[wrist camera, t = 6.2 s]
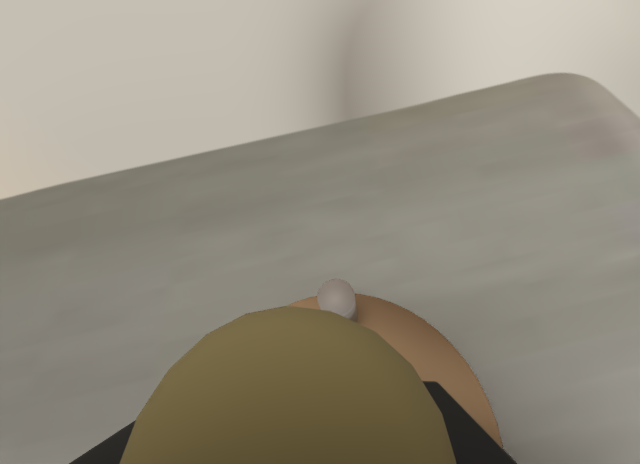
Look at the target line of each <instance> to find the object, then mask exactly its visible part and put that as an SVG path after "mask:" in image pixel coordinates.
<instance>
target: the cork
mask: <svg viewBox="0 0 640 464" xmlns="http://www.w3.org/2000/svg"><path fill="white" fill-rule="evenodd" d="M120 464H457V463H456V459H455V456H454V453H453V449H452V446H451V442H450V439H449V436H448V432H447V429H446V425H445V422H444V419H443V415H442V413H441V411H440V410H439V408H438V406H437V405H436V403H435V401H434V400H433V398H432V396H431V395H430V393H429V392H428V390H427V388H426V387H425V385H424V383H423V382H422V380H421V379H420V377H419V375H418V374H417V372H416V370H415V369H414V367H413V365H412V364H411V363H409V362H408V361H407V360H406V359H405V358H404V357H403V356H402V355H401V354H400V353H398V352H397V351H396V350H395V349H394V348H393V347H392V346H391V345H390V344H389V343H388V342H386V341H385V340H384V339H383V338H382V337H381V336H380V335H379V334H378V333H377V332H375V331H373V330H371V329H369V328H367V327H365V326H362V325H360V324H358V323H356V322H354V321H352V320H350V319H347V318H345V317H343V316H341V315H339V314H337V313H334V312H332V311H326V310H318V309H310V308H302V307H294V306H284V307H279V308H274V309H268V310H263V311H258V312H253V313H248V314H245V315H243V316H241V317H239V318H237V319H235V320H233V321H231V322H230V323H228V324H226V325H224V326H222V327H220V328H218V329H216V330H214V331H212V332H210V333H209V334H207V335H206V336H205V337H203V338H202V339H201V340H200V341H199V342H198V343H197V344H196V345H195V346H194V347H193V348H192V349H190V350H189V351H188V352H187V353H186V354H185V355H184V356H183V357H182V358H181V359H180V360H179V361H178V362H176V363H175V364H174V365H173V366H172V367H171V368H170V369H169V371H168V372H167V373H166V375H165V376H164V378H163V379H162V381H161V382H160V384H159V385H158V387H157V388H156V390H155V391H154V393H153V394H152V396H151V397H150V399H149V400H148V402H147V403H146V405H145V406H144V408H143V409H142V411H141V412H140V414H139V415H138V417H137V419H136V421H135V424H134V427H133V429H132V432H131V435H130V437H129V440H128V443H127V445H126V448H125V451H124V453H123V456H122V458H121V461H120Z"/></svg>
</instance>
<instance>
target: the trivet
mask: <svg viewBox="0 0 640 464" xmlns="http://www.w3.org/2000/svg"><path fill="white" fill-rule="evenodd" d="M288 306H294V307H302V308H310V309H318V310H326V311H332V312H334V313H337V314H339V315H341V316H343V317H345V318H347V319H350V320H352V321H354V322H356V323H358V324H360V325H362V326H365V327H367V328H369V329H371V330H373V331H375V332H377V333H378V334H379V335H380V336H381V337H382V338H383V339H384V340H385V341H386V342H388V343H389V344H390V345H391V346H392V347H393V348H394V349H395V350H396V351H397V352H398V353H400V354H401V355H402V356H403V357H404V358H405V359H406V360H407V361H408V362H409V363H411V364H412V365H413V367H414V369H415V370H416V372H417V374H418V375H419V377H420V379H421V380H422V381H436V382H438V383H439V384H440V385H441V386H442V387H443V388H444V389H445V390H446V391H447V392H448V393H449V394H450V395H451V396H452V397H453V398H454V399H455V400H456V401H457V402H458V403H459V404H460V405H461V406H462V407H463V408H464V410H465V411H466V412H467V413H468V414H469V415H470V416H471V417H472V418H473V419H474V420H475V421H476V422H477V423H478V424H479V425H480V426H481V427H482V428H483V429H484V430H485V431H486V432H487V433H488V434H489V435H490V436H491V437H492V438H493V439H494V440H495V441H496V442H497V443H498V444H499V445H500V446H501V448H502V449H503V446H502V442H501V438H500V434H499V430H498V426H497V422H496V420H495V417H494V414H493V412H492V409H491V406H490V404H489V401H488V399H487V397H486V395H485V393H484V391H483V389H482V387H481V385H480V383H479V381H478V379H477V378H476V376H475V375H474V373H473V372H472V370H471V368H470V367H469V365H468V364H467V362H466V361H465V360H464V358H463V357H462V356H461V355H460V354H459V352H458V351H457V350H456V349H455V347H454V346H453V345H452V344H451V343H450V342H449V341H448V340H447V339H446V338H445V337H444V336H443V335H442V334H441V333H440V332H439V331H437V330H436V329H435V328H434V327H432V326H431V325H430V324H429V323H427V322H426V321H425V320H423V319H422V318H420V317H418V316H417V315H415V314H414V313H412V312H410V311H409V310H407V309H405V308H402V307H400V306H398V305H396V304H394V303H391V302H388V301H385V300H382V299H379V298H376V297H371V296H366V295H360V294H354V290H353V288H352V287H351V285H350V284H349V283H347V282H346V281H344V280H341V279H332V280H329V281H327V282H325V283H324V284H323V285H322V286H321V287H320V289H319V291H318V295H317V296H315V297H310V298H307V299H303V300H300V301H297V302H294V303H292V304H290V305H288Z"/></svg>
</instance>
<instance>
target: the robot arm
mask: <svg viewBox="0 0 640 464" xmlns="http://www.w3.org/2000/svg"><path fill="white" fill-rule="evenodd" d="M422 382H423V383H424V385H425V387H426V388H427V390H428V392H429V393H430V395H431V396H432V398H433V400H434V401H435V403H436V405H437V406H438V408H439V410H440V411H441V413H442V415H443V419H444V422H445V425H446V429H447V432H448V436H449V439H450V442H451V446H452V449H453V453H454V456H455V459H456V463H457V464H517V463H516V462H515V461H514V460H513V459H512V458H511V457H510V456H509V455H508V454H507V453H506V452H505V451H504V450H503V449H502V448H501V446H500V445H499V444H498V443H497V442H496V441H495V440H494V439H493V438H492V437H491V436H490V435H489V434H488V433H487V432H486V431H485V430H484V429H483V428H482V427H481V426H480V425H479V424H478V423H477V422H476V421H475V420H474V419H473V418H472V417H471V416H470V415H469V414H468V413H467V412H466V411H465V410H464V408H463V407H462V406H461V405H460V404H459V403H458V402H457V401H456V400H455V399H454V398H453V397H452V396H451V395H450V394H449V393H448V392H447V391H446V390H445V389H444V388H443V387H442V386H441V385H440V384H439V383H438V382H436V381H422ZM135 421H136V420H135ZM135 421H134V422H132V423H131V424H129V425H128V426H126V427H125V428H123V429H121V430H120V431H118V432H117V433H115V434H114V435H112V436H111V437H109V438H108V439H106V440H105V441H103V442H102V443H100V444H98V445H97V446H95V447H94V448H92V449H91V450H89V451H88V452H86V453H85V454H83V455H82V456H80V457H79V458H77V459H75V460H74V461H72V462H71V463H69V464H120V461H121V458H122V456H123V453H124V451H125V448H126V445H127V443H128V440H129V437H130V435H131V432H132V429H133V427H134V424H135Z"/></svg>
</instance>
